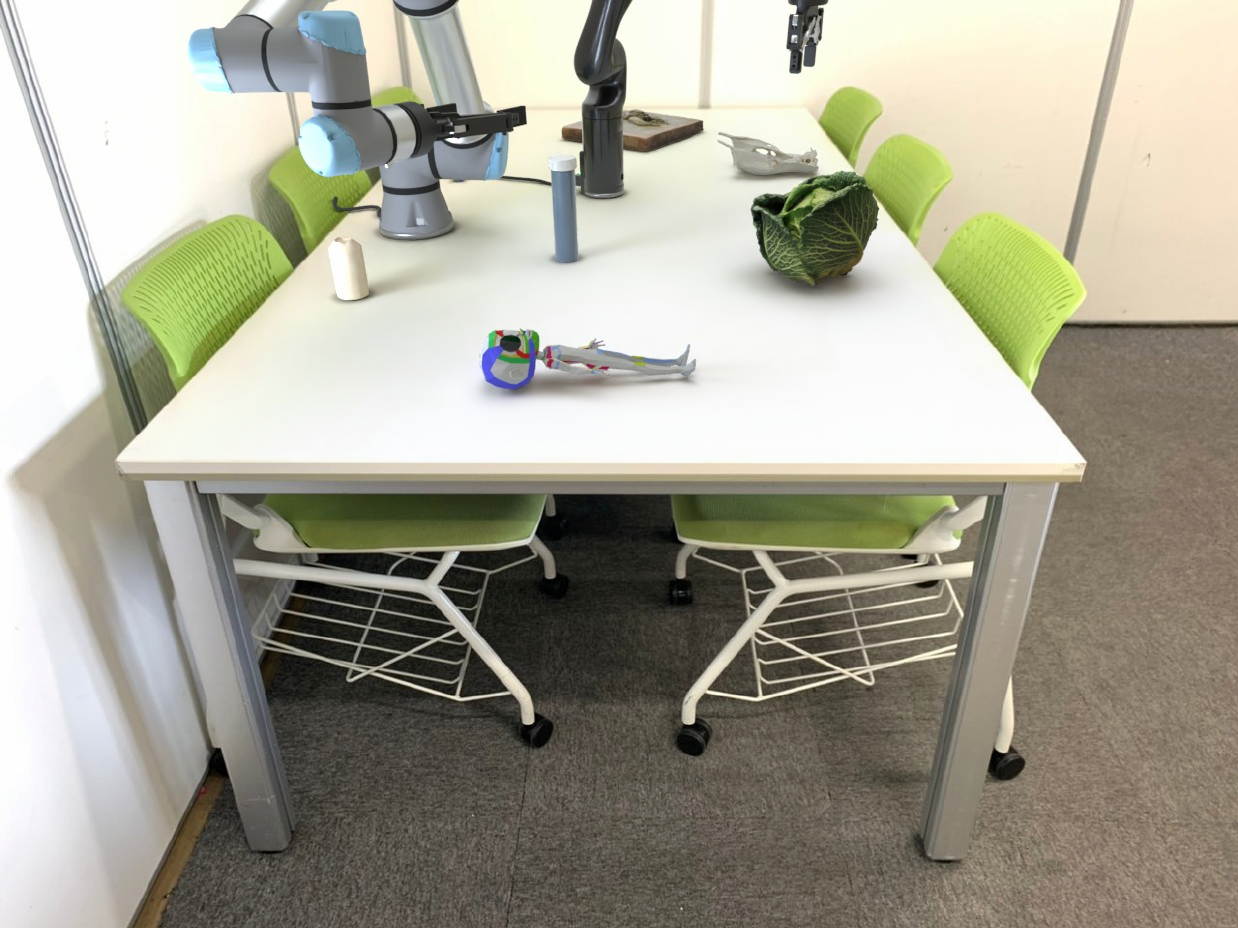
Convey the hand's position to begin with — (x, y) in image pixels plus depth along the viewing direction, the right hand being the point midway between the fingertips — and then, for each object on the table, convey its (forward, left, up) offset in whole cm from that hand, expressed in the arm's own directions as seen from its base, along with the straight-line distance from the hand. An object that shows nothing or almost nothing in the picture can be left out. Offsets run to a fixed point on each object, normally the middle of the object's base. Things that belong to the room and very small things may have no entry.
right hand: (802, 70), depth 176 cm
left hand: (-31, -62, 0) cm, 69 cm away
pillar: (-86, +3, -29) cm, 91 cm away
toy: (-1, -85, -29) cm, 90 cm away
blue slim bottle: (-30, -42, -29) cm, 60 cm away
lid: (-30, -42, -11) cm, 53 cm away
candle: (-54, -75, -29) cm, 97 cm away
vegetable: (+15, -32, -29) cm, 46 cm away
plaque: (-66, +56, -29) cm, 91 cm away
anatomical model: (-17, +33, -29) cm, 47 cm away
